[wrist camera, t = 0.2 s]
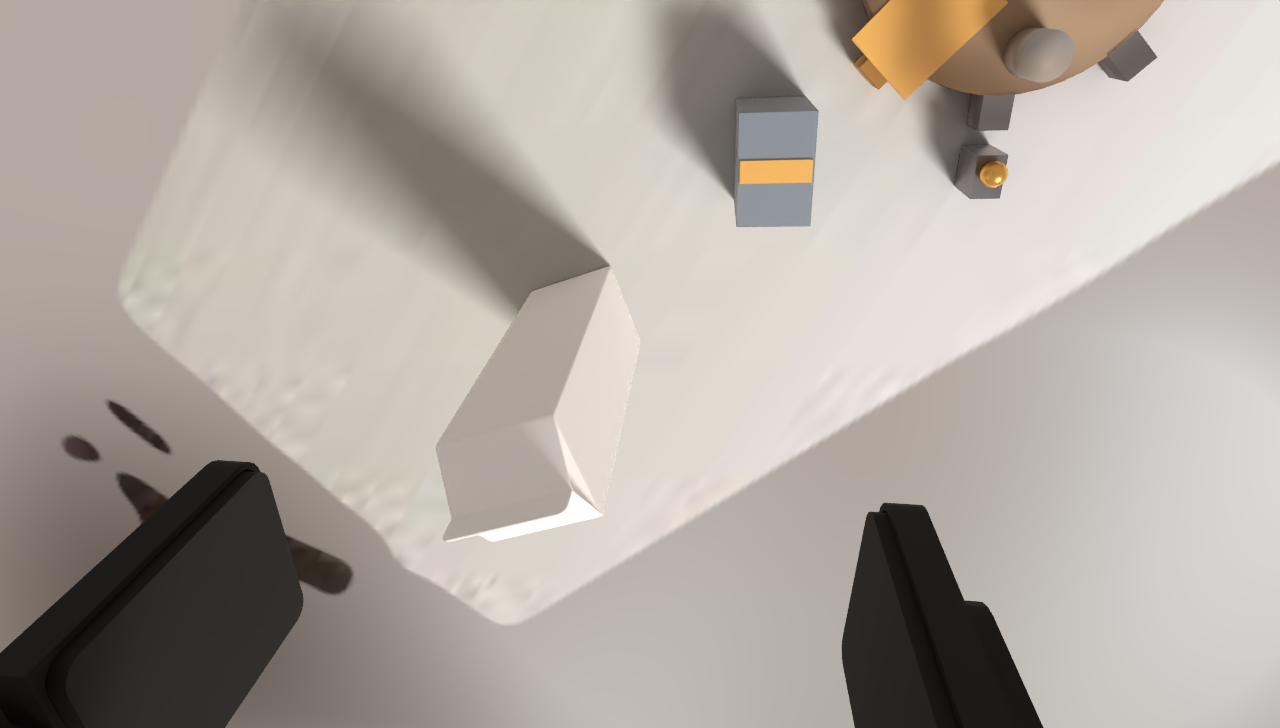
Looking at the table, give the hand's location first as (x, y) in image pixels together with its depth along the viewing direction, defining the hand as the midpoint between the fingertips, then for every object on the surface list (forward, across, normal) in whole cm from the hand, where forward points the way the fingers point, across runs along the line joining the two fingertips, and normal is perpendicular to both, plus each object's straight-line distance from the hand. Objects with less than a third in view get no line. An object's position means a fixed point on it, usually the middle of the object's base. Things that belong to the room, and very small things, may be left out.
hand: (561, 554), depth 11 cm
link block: (+36, -6, 0) cm, 37 cm away
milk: (+36, +6, +12) cm, 39 cm away
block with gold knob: (+36, -18, +1) cm, 40 cm away
